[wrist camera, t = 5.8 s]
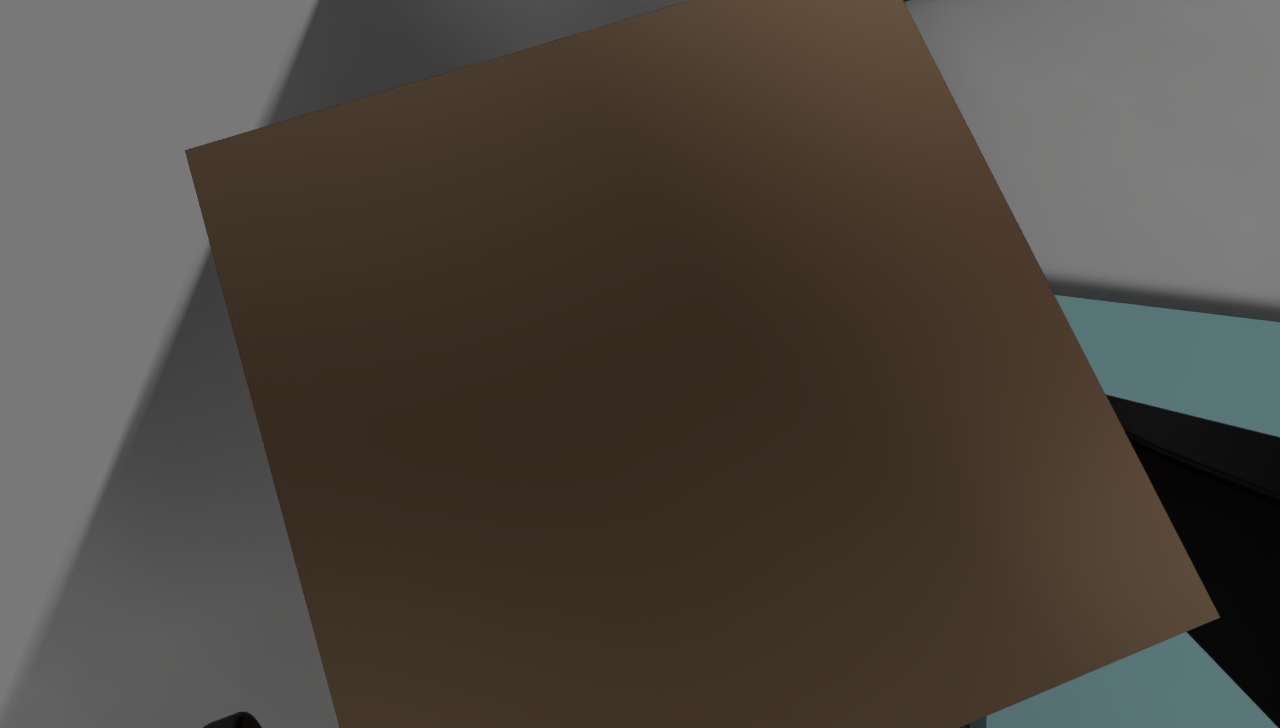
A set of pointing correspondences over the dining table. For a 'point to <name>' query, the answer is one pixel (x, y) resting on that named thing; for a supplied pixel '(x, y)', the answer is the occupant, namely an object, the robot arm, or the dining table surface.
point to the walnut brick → (680, 390)
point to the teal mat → (1195, 385)
